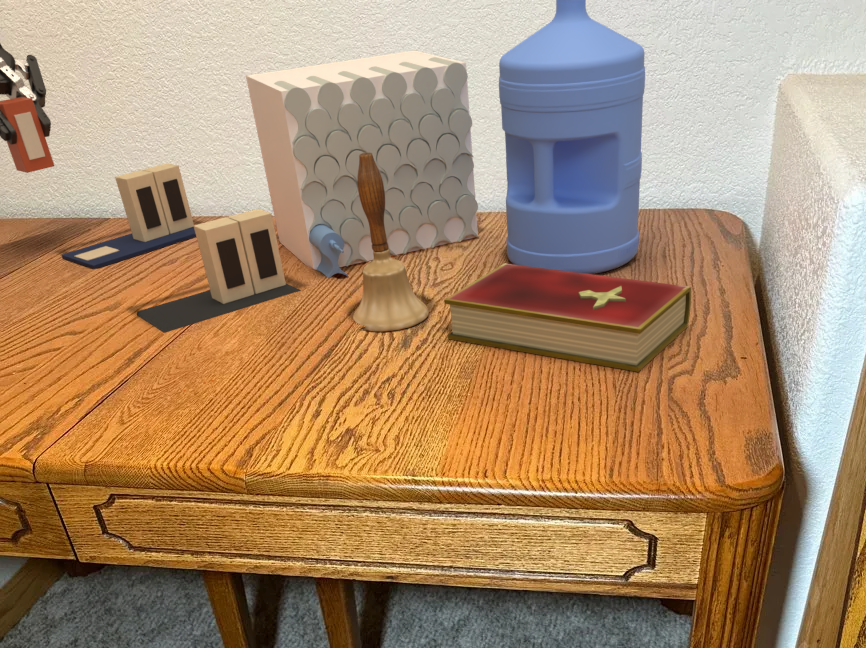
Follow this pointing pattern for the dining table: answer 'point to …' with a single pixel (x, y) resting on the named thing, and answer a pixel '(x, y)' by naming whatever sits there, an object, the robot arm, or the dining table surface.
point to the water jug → (573, 144)
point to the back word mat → (144, 217)
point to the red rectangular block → (26, 135)
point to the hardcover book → (570, 315)
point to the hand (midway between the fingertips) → (30, 135)
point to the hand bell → (383, 265)
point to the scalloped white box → (367, 133)
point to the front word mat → (229, 271)
